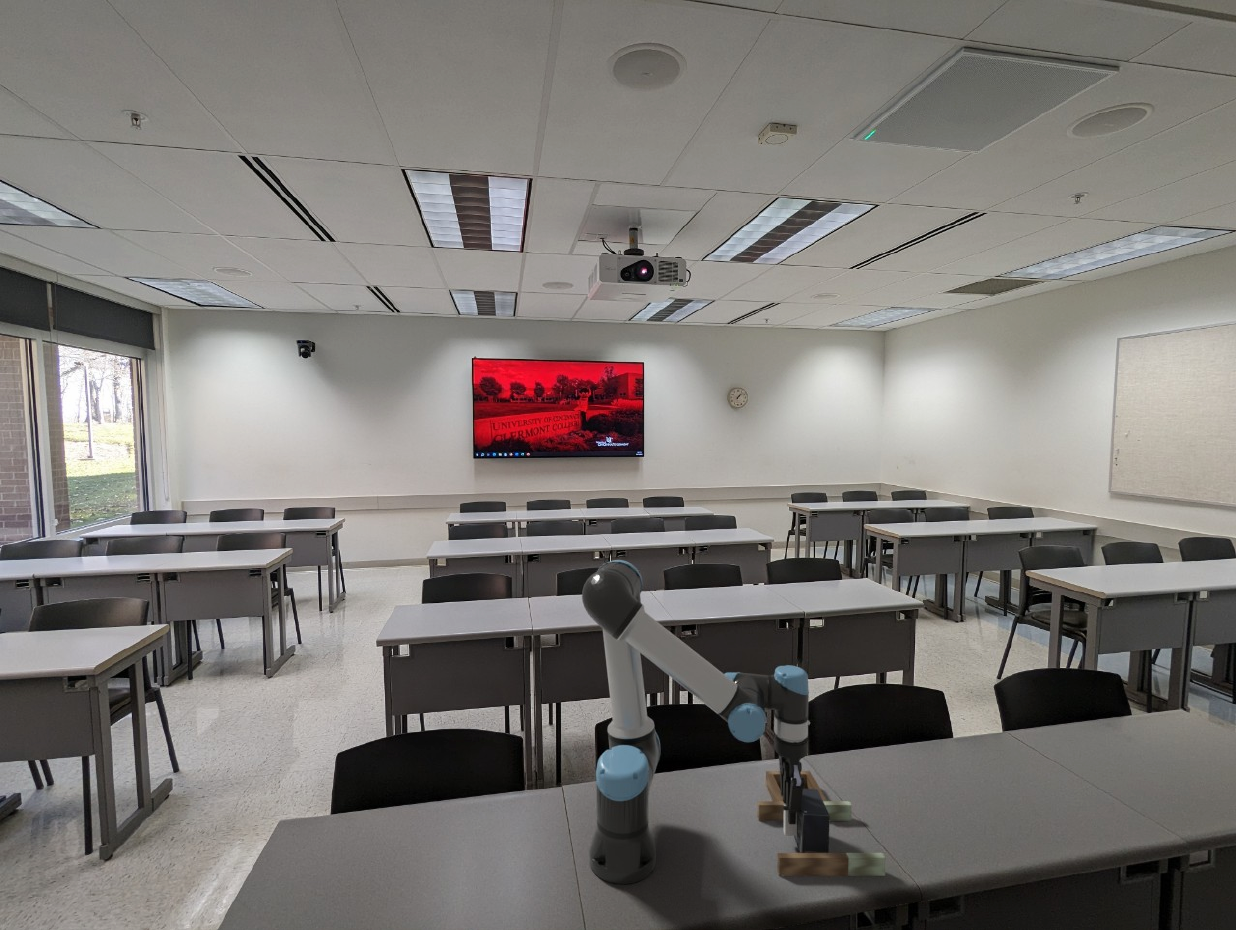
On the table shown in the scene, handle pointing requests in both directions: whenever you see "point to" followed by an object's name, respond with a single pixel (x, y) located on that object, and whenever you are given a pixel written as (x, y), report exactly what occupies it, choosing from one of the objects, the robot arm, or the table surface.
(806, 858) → the wooden frame pieces
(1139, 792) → the table surface
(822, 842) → the small box
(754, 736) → the robot arm
